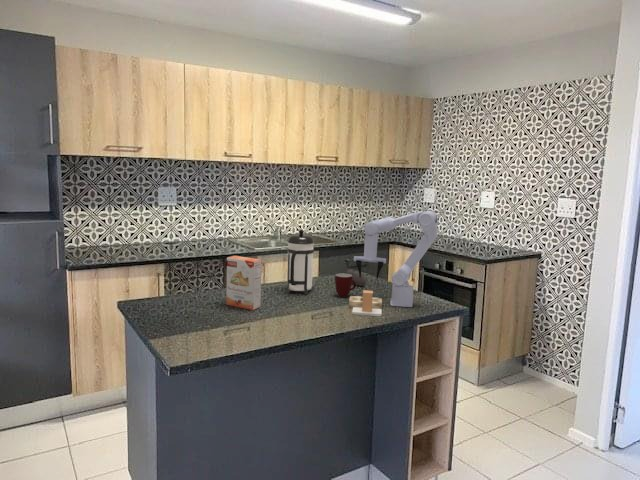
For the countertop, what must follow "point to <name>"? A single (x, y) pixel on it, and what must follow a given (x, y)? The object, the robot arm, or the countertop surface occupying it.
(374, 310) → the mat
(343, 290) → the mug
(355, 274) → the perforated stone tool
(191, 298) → the countertop surface
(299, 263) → the coffee press
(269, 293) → the countertop surface
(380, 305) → the beige holed block
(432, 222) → the robot arm
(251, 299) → the cracker box
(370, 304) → the plug
